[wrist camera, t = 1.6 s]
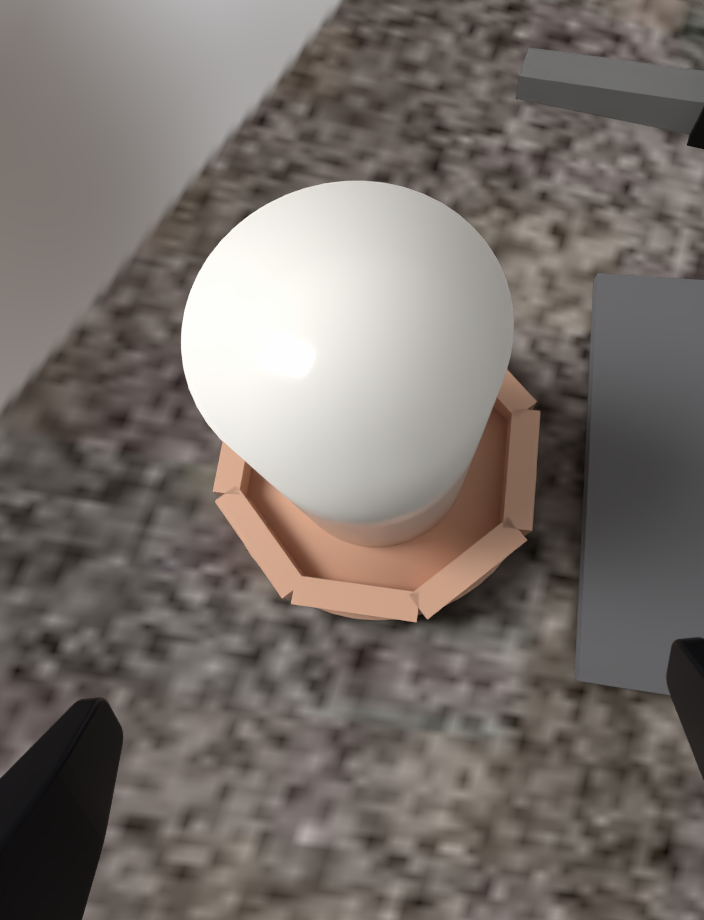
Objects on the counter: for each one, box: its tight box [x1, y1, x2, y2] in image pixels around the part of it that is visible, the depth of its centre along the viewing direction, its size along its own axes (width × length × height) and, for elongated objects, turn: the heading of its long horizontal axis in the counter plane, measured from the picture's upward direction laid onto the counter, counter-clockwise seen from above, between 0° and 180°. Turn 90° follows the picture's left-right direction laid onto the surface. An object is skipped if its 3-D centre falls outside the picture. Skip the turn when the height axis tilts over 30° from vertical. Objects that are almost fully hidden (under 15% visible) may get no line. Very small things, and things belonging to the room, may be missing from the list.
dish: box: [213, 370, 540, 622], centre depth 23 cm, size 12×12×2 cm
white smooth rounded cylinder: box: [181, 181, 514, 547], centre depth 17 cm, size 7×7×11 cm
